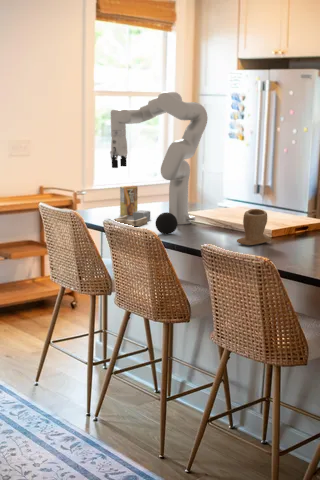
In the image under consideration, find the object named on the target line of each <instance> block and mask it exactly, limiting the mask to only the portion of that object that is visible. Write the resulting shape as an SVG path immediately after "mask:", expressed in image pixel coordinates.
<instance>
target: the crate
mask: <svg viewBox="0 0 320 480" xmlns="http://www.w3.org/2000/svg"><path fill="white" fill-rule="evenodd" d="M144 217H147V222H148V221H150V220H151V211H150V210H137V211H136V212H134V213H133V215H132V220H138V219H141V218H144Z"/></svg>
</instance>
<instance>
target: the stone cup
mask: <svg viewBox="0 0 320 480" xmlns="http://www.w3.org/2000/svg"><path fill="white" fill-rule="evenodd" d="M242 221H243V222H242V223H243V229H244V236H243V237H241V238H237V239H236V242H237V243H238V244H239V245H240V244H241V245H245V246H256V245H261V244H265V243H268V242H271V241H272V239H271V237H269V236H268V235H267V234H266V233H265V230H266V229H265V228H266V226H267V223H268V212H267V211H266V210H264V209H259V208H252V209H248V210H246V211H245V212H244V214H243V219H242Z"/></svg>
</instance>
